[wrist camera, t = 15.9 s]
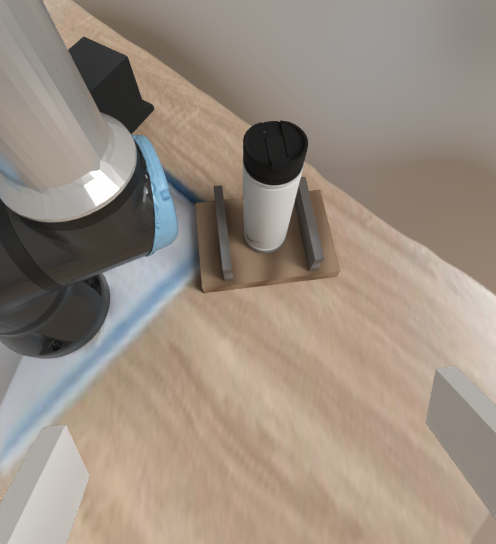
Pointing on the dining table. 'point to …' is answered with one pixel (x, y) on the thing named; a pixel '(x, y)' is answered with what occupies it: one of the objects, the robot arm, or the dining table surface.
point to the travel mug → (271, 181)
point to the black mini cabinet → (110, 82)
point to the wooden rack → (263, 266)
